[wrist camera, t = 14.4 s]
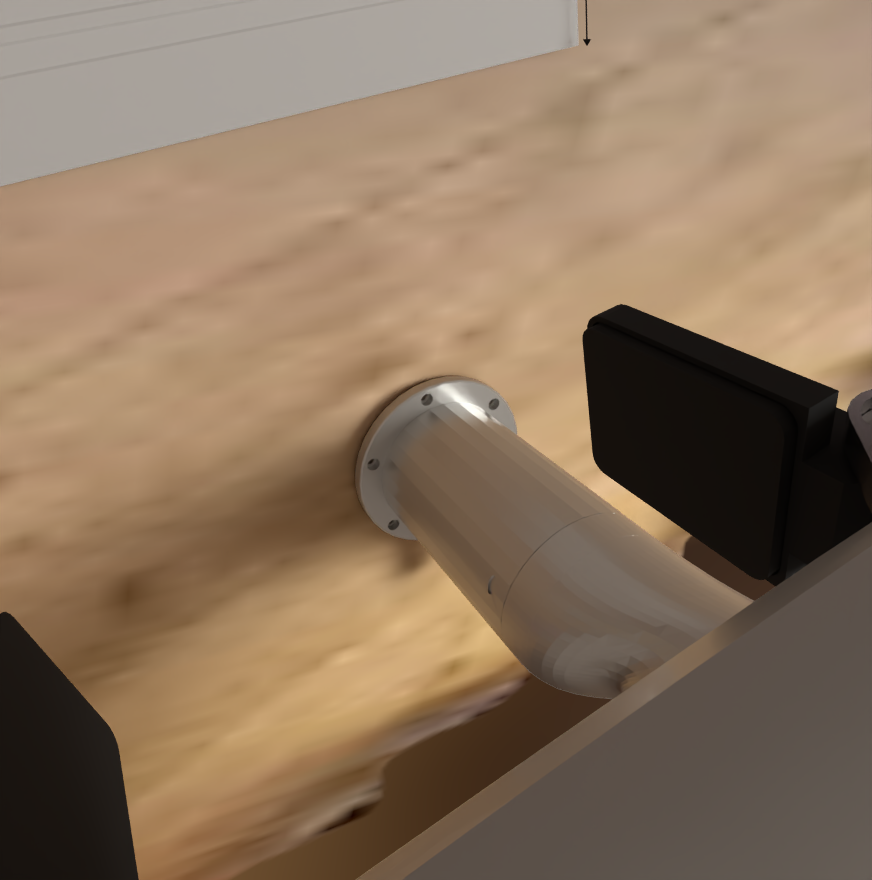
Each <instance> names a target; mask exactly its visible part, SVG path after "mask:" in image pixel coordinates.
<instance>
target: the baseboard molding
mask: <svg viewBox="0 0 872 880" xmlns="http://www.w3.org/2000/svg"><path fill="white" fill-rule="evenodd" d="M585 1H586V39H583V40H584V42H585V44H586V45H588V44H589V42H590V40H591V39H588V38H587V0H585ZM574 46H578V10H577V0H0V186H4V185H8V184H12V183H17V182H21V181H25V180H29V179H33V178H37V177H41V176H45V175H49V174H53V173H58V172H62V171H66V170H70V169H74V168H78V167H82V166H86V165H90V164H94V163H99V162H103V161H107V160H111V159H115V158H119V157H123V156H127V155H131V154H135V153H140V152H144V151H148V150H152V149H156V148H160V147H164V146H168V145H172V144H176V143H181V142H185V141H189V140H193V139H197V138H201V137H205V136H209V135H213V134H217V133H222V132H226V131H230V130H234V129H238V128H242V127H246V126H250V125H254V124H258V123H263V122H267V121H271V120H275V119H279V118H283V117H287V116H291V115H295V114H299V113H304V112H308V111H312V110H316V109H320V108H324V107H328V106H332V105H336V104H340V103H345V102H349V101H353V100H357V99H361V98H365V97H369V96H373V95H377V94H381V93H386V92H390V91H394V90H398V89H402V88H406V87H410V86H414V85H418V84H422V83H427V82H431V81H435V80H439V79H443V78H447V77H451V76H455V75H459V74H463V73H468V72H472V71H476V70H480V69H484V68H488V67H492V66H496V65H500V64H504V63H509V62H513V61H517V60H521V59H525V58H529V57H533V56H537V55H541V54H545V53H550V52H554V51H558V50H562V49H566V48H570V47H574Z"/></svg>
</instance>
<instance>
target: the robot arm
mask: <svg viewBox="0 0 872 880" xmlns="http://www.w3.org/2000/svg"><path fill="white" fill-rule="evenodd" d="M583 350H584V362H585V373H586V384H587V395H588V406H589V418H590V429H591V440H592V451H593V457H594V460H595V463H596V464H597V466H598V467H599V469H600V470H601V471H602V472H603V473H604V474H606V475H607V476H609V477H610V478H611V479H613V480H614V481H616V482H617V483H618V484H620V485H621V486H623V487H624V488H626V489H627V490H628V491H630V492H631V493H633V494H634V495H636V496H637V497H638V498H640V499H641V500H643V501H644V502H645V503H647V504H648V505H650V506H651V507H653V508H654V509H655V510H657V511H658V512H660V513H661V514H663V515H664V516H665V517H667V518H668V519H670V520H671V521H673V522H674V523H675V524H677V525H678V526H680V527H681V528H682V529H684V530H685V531H687V532H688V533H690V534H691V535H692V536H694V537H695V538H697V539H698V540H700V541H701V542H702V543H704V544H705V545H707V546H708V547H709V548H711V549H712V550H714V551H715V552H717V553H718V554H720V555H721V556H722V557H724V558H725V559H727V560H728V561H730V562H731V563H732V564H734V565H735V566H737V567H738V568H739V569H741V570H742V571H744V572H745V573H746V574H748V575H749V576H751V577H753V578H755V579H758V580H764V579H766V580H767V581H769V582H770V583H771V584H773V585H774V586H776V587H775V588H773V589H772V590H770V591H769V592H767V593H766V594H764V595H763V596H761V597H760V598H759V599H757V600H756V601H753V600H751V599H749V598H747V597H746V596H744V595H742V594H740V593H738V592H736V591H735V590H733V589H731V588H730V587H728V586H726V585H725V584H723V583H721V582H720V581H718V580H716V579H714V578H713V577H711V576H709V575H708V574H707V573H705V572H704V571H702V570H701V569H699V568H698V567H696V566H694V565H693V564H691V563H690V562H688V561H687V560H685V559H684V558H683V557H681V556H680V555H678V554H677V553H675V552H674V551H673V550H671V549H670V548H668V547H667V546H666V545H664V544H663V543H661V542H660V541H659V540H657V539H656V538H655V537H653V536H652V535H651V534H649V533H648V532H646V531H645V530H644V529H642V528H641V527H640V526H638V525H637V524H636V523H634V522H633V521H632V520H630V519H629V518H627V517H626V516H625V515H623V514H622V513H621V512H620V511H618V510H617V509H616V508H614V507H613V506H612V505H610V504H609V503H608V502H606V501H605V500H604V499H602V498H601V497H600V496H598V495H597V494H596V493H594V492H593V491H592V490H590V489H589V488H588V487H586V486H585V485H584V484H582V483H581V482H580V481H578V480H577V479H575V478H574V477H573V476H571V475H570V474H569V473H567V472H566V471H565V470H563V469H562V468H561V467H559V466H558V465H557V464H555V463H554V462H553V461H551V460H550V459H549V458H547V457H546V456H545V455H543V454H542V453H541V452H539V451H538V450H537V449H535V448H534V447H533V446H531V445H530V444H529V443H527V442H526V441H525V440H523V439H522V438H521V437H519V436H518V435H517V426H516V422H515V419H514V415H513V412H512V410H511V409H510V407H509V405H508V403H507V402H506V401H505V399H504V398H503V397H502V396H501V395H500V394H499V393H498V392H497V391H495V390H494V389H492V388H491V387H489V386H488V385H487V384H485V383H482V382H480V381H478V380H476V379H473V378H468V377H463V376H445V377H440V378H436V379H431V380H428V381H426V382H423V383H421V384H419V385H416V386H414V387H412V388H411V389H409V390H408V391H406V392H405V393H403V394H401V395H400V396H398V397H397V398H396V399H395V400H394V401H393V402H392V403H391V404H389V405H388V406H387V407H386V408H385V409H384V410H383V412H382V413H381V414H380V415H379V416H378V418H377V419H376V420H375V421H374V422H373V424H372V426H371V428H370V429H369V431H368V433H367V434H366V436H365V438H364V440H363V443H362V446H361V448H360V451H359V454H358V458H357V464H356V469H355V486H356V490H357V494H358V498H359V501H360V503H361V505H362V507H363V509H364V511H365V512H366V514H367V515H368V516H369V517H370V519H371V520H372V521H373V523H375V524H376V525H377V526H378V527H379V528H380V529H381V530H382V531H384V532H386V533H388V534H390V535H392V536H394V537H397V538H401V539H405V540H418V541H419V542H420V543H421V544H422V546H423V547H424V548H425V549H426V550H427V552H428V553H429V554H430V555H431V556H432V558H433V559H434V560H435V561H436V562H437V564H438V565H439V566H440V567H441V568H442V570H443V571H444V572H445V573H446V574H447V575H448V577H449V578H450V579H451V580H452V581H453V583H454V584H455V585H456V586H457V587H458V589H459V590H460V591H461V592H462V593H463V595H464V596H465V597H466V598H467V599H468V600H469V602H470V603H471V604H472V605H473V606H474V608H475V609H476V610H477V611H478V612H479V614H480V615H481V616H482V617H483V618H484V620H485V621H486V622H487V623H488V624H489V626H490V627H491V628H492V629H493V630H494V631H495V633H496V634H497V635H498V636H499V637H500V639H501V640H502V641H503V642H504V643H505V645H506V646H507V647H508V648H509V649H510V651H511V652H512V653H513V654H514V655H515V656H516V658H517V659H518V660H519V661H520V662H521V664H522V665H524V666H525V667H526V668H527V669H528V670H529V671H530V672H531V673H532V674H533V675H535V676H536V677H538V678H539V679H540V680H542V681H544V682H545V683H547V684H550V685H551V686H553V687H555V688H558V689H561V690H564V691H568V692H570V693H574V694H579V695H584V696H590V697H598V698H608V699H613V700H611V701H610V702H608V703H607V704H606V705H604V706H603V707H601V708H600V709H598V710H597V711H595V712H594V713H593V714H591V715H590V716H588V717H587V718H585V719H584V720H583V721H581V722H580V723H578V724H577V725H576V726H574V727H573V728H571V729H570V730H568V731H567V732H565V733H564V734H562V735H561V736H560V737H558V738H557V739H555V740H554V741H552V742H551V743H550V744H548V745H547V746H545V747H544V748H542V749H541V750H540V751H538V752H537V753H535V754H534V755H532V756H531V757H530V758H528V759H527V760H525V761H524V762H522V763H521V764H520V765H518V766H517V767H515V768H514V769H512V770H511V771H509V772H508V773H507V774H505V775H504V776H502V777H501V778H500V779H498V780H497V781H495V782H494V783H492V784H491V785H490V786H488V787H487V788H485V789H484V790H483V791H481V792H480V793H478V794H477V795H475V796H474V797H472V798H471V799H470V800H468V801H467V802H466V803H464V804H462V805H461V806H460V807H458V808H457V809H455V810H454V811H453V812H451V813H450V814H448V815H447V816H445V817H444V818H443V819H441V820H440V821H438V822H437V823H435V824H434V825H433V826H431V827H430V828H428V829H427V830H426V831H424V832H423V833H421V834H420V835H419V836H417V837H416V838H414V839H413V840H411V841H410V842H409V843H407V844H406V845H404V846H403V847H401V848H400V849H399V850H397V851H396V852H394V853H393V854H392V855H390V856H389V857H387V858H386V859H384V860H383V861H382V862H380V863H379V864H377V865H376V866H374V867H373V868H372V869H370V870H369V871H367V872H366V873H364V874H363V875H362V876H360V877H359V878H357V879H356V880H872V389H871V390H868V391H865V392H862V393H860V394H859V395H858V396H856V397H855V398H854V399H852V400H851V402H850V405H849V407H848V409H847V412H846V411H843V410H841V409H839V408H836V404H837V398H838V392H839V391H838V390H835V389H833V388H831V387H828V386H826V385H823V384H821V383H818V382H816V381H813V380H811V379H808V378H806V377H803V376H801V375H798V374H796V373H793V372H791V371H788V370H786V369H783V368H781V367H778V366H776V365H773V364H771V363H769V362H766V361H764V360H761V359H759V358H756V357H754V356H751V355H749V354H746V353H744V352H741V351H739V350H736V349H734V348H731V347H729V346H726V345H724V344H721V343H719V342H716V341H714V340H711V339H709V338H707V337H704V336H702V335H699V334H697V333H694V332H692V331H689V330H687V329H684V328H682V327H679V326H677V325H674V324H672V323H669V322H667V321H664V320H662V319H659V318H657V317H654V316H652V315H649V314H647V313H645V312H642V311H640V310H637V309H635V308H632V307H630V306H627V305H623V304H620V305H617V306H615V307H613V308H610V309H608V310H606V311H604V312H602V313H600V314H598V315H596V316H594V317H592V318H591V319H590V320H589V322H588V325H587V329H586V330H585V331H584V333H583ZM0 880H138V873H137V866H136V860H135V853H134V847H133V840H132V834H131V827H130V820H129V814H128V807H127V801H126V794H125V788H124V781H123V774H122V768H121V761H120V755H119V749H118V745H117V742H116V739H115V737H114V734H113V732H112V731H111V729H110V727H109V726H108V724H107V723H106V722H105V721H104V720H103V719H102V717H101V716H100V715H99V714H98V713H97V712H96V711H95V709H94V708H93V707H92V706H91V705H90V704H89V703H88V701H87V700H86V699H85V698H84V697H83V696H82V695H81V693H80V692H79V691H78V690H77V689H76V688H75V687H74V685H73V684H72V683H71V682H70V681H69V680H68V679H67V677H66V676H65V675H64V674H63V673H62V672H61V671H60V670H59V668H58V667H57V666H56V665H55V664H54V663H53V662H52V660H51V659H50V658H49V657H48V656H47V655H46V654H45V652H44V651H43V650H42V649H41V648H40V647H39V646H38V644H37V643H36V642H35V641H34V640H33V639H32V638H31V636H30V635H29V634H28V633H27V632H26V631H25V630H24V628H23V627H22V626H21V625H20V624H19V623H18V622H17V621H16V619H15V618H14V617H13V616H12V615H11V614H9V613H7V612H3V613H1V614H0Z"/></svg>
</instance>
